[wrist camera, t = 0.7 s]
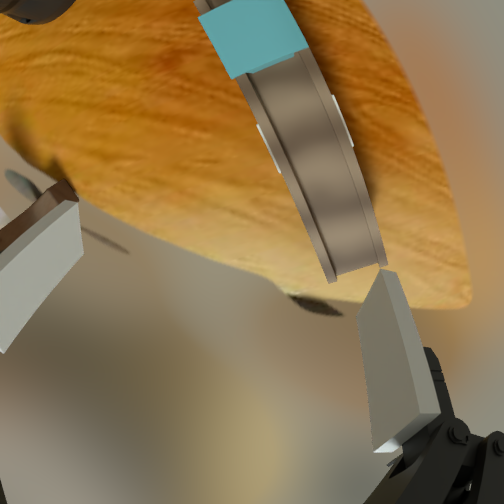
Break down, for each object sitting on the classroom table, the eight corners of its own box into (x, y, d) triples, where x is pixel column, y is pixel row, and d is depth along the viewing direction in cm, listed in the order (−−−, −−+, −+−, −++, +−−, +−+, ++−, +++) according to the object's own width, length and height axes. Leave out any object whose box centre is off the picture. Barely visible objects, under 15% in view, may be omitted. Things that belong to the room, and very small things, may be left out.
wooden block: (65, 177, 40) (-20, 235, 25) (81, 200, 42) (1, 265, 27) (39, 206, 44) (-33, 264, 29) (54, 226, 45) (-15, 289, 30)
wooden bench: (213, 16, 28) (191, 2, 21) (273, -10, 25) (266, -32, 18) (322, 247, 41) (326, 284, 34) (375, 230, 39) (390, 264, 32)
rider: (212, 25, 23) (197, 17, 19) (277, -3, 20) (273, -17, 17) (241, 78, 25) (231, 78, 21) (306, 51, 23) (308, 46, 19)
